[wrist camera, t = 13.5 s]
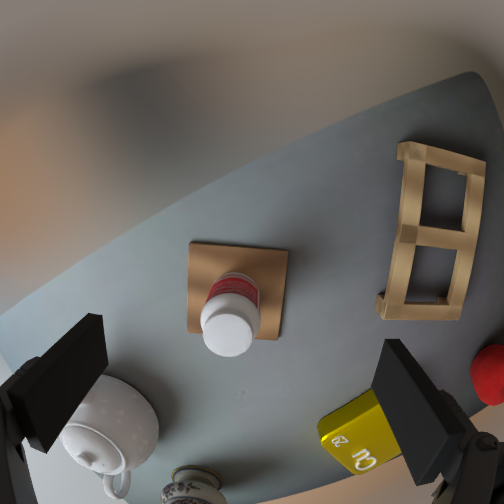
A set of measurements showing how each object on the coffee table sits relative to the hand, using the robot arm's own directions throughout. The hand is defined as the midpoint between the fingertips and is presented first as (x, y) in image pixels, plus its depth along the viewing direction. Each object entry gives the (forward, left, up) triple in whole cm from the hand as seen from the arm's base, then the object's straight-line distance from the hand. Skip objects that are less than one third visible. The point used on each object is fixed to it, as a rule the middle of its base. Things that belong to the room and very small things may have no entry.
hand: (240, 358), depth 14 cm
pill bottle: (+7, -1, -26) cm, 26 cm away
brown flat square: (+7, -1, -26) cm, 27 cm away
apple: (+17, +42, -26) cm, 52 cm away
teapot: (+31, -20, -26) cm, 45 cm away
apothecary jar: (+47, -6, -26) cm, 54 cm away
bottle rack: (-3, +24, -26) cm, 35 cm away
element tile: (+29, +23, -26) cm, 45 cm away
